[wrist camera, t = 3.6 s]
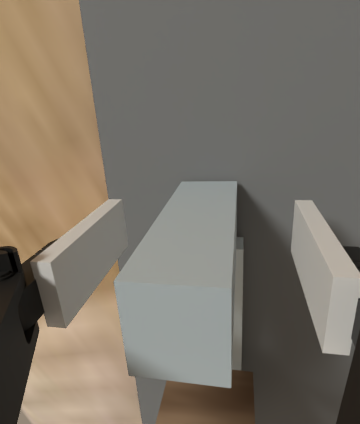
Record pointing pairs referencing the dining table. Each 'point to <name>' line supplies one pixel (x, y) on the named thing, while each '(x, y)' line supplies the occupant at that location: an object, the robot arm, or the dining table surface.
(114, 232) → the robot arm
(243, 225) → the mat
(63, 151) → the dining table surface
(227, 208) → the grey stepped bracket
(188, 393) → the block
